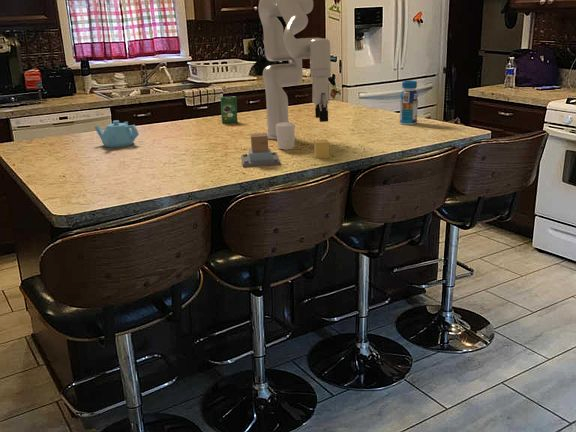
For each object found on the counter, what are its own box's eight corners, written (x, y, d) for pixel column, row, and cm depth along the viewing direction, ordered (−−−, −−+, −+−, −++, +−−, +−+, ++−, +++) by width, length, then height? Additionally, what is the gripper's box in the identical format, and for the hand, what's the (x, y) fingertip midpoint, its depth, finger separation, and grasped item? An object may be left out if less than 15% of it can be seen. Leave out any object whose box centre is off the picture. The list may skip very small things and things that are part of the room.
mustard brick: (314, 155, 238) (314, 140, 236) (327, 154, 238) (326, 139, 236) (316, 158, 233) (316, 143, 231) (329, 157, 233) (329, 142, 231)
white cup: (279, 151, 247) (278, 126, 243) (274, 147, 254) (273, 123, 251) (297, 149, 249) (297, 124, 245) (292, 145, 256) (291, 121, 252)
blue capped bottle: (396, 122, 294) (397, 80, 288) (411, 121, 297) (413, 79, 290) (404, 125, 287) (405, 82, 280) (420, 124, 289) (422, 81, 282)
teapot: (107, 150, 259) (103, 125, 255) (96, 144, 271) (92, 120, 267) (141, 145, 267) (138, 120, 263) (129, 139, 279) (126, 116, 275)
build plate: (241, 158, 237) (240, 147, 236) (276, 155, 238) (276, 145, 237) (242, 166, 224) (242, 155, 223) (280, 164, 225) (279, 153, 224)
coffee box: (237, 121, 313) (235, 95, 309) (238, 122, 311) (236, 96, 306) (221, 122, 312) (219, 96, 307) (222, 123, 309) (220, 97, 305)
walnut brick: (251, 149, 232) (250, 133, 231) (267, 148, 233) (266, 132, 231) (252, 152, 227) (251, 136, 225) (268, 151, 227) (267, 135, 225)
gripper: (307, 72, 233) (308, 116, 238) (314, 75, 216) (315, 123, 222) (326, 71, 233) (327, 115, 239) (334, 74, 217) (335, 122, 222)
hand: (321, 119), depth 230 cm, fingers open, 9 cm apart
